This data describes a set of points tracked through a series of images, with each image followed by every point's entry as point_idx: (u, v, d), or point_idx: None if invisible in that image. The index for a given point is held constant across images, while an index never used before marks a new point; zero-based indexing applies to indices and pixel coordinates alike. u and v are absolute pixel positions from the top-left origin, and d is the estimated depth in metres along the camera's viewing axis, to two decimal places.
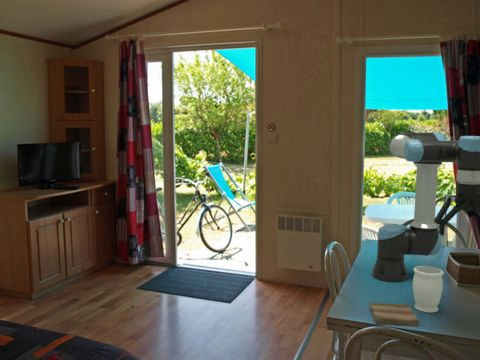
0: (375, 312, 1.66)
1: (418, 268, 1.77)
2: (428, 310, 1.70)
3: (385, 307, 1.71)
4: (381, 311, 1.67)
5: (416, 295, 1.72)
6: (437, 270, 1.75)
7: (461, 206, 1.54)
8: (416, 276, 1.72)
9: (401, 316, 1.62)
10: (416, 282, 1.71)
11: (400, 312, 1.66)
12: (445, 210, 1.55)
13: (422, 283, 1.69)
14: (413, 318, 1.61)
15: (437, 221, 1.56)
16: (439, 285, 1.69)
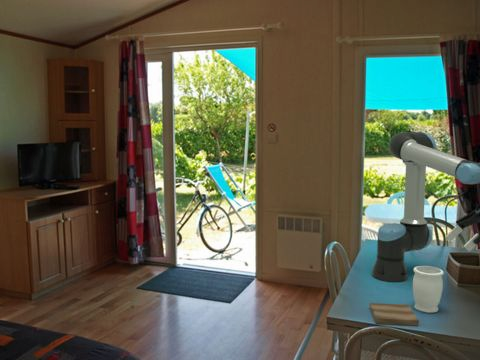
0: (375, 312, 1.66)
1: (418, 268, 1.77)
2: (428, 310, 1.70)
3: (385, 307, 1.71)
4: (381, 311, 1.67)
5: (416, 295, 1.72)
6: (437, 270, 1.75)
7: None
8: (416, 276, 1.72)
9: (401, 316, 1.62)
10: (416, 282, 1.71)
11: (400, 312, 1.66)
12: None
13: (422, 283, 1.69)
14: (413, 318, 1.61)
15: None
16: (439, 285, 1.69)
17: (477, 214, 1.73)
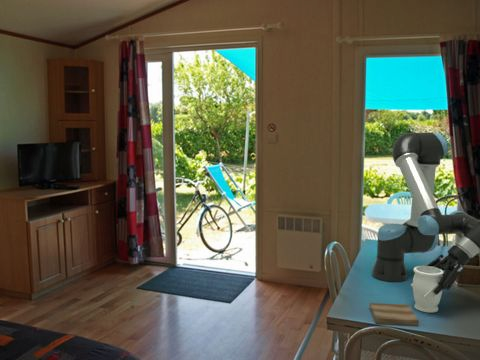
0: (375, 312, 1.66)
1: (418, 268, 1.77)
2: (428, 310, 1.70)
3: (385, 307, 1.71)
4: (381, 311, 1.67)
5: (416, 295, 1.72)
6: (437, 270, 1.75)
7: None
8: (416, 276, 1.72)
9: (401, 316, 1.62)
10: (416, 282, 1.71)
11: (400, 312, 1.66)
12: None
13: (422, 283, 1.69)
14: (413, 318, 1.61)
15: None
16: None
17: (441, 262, 1.74)
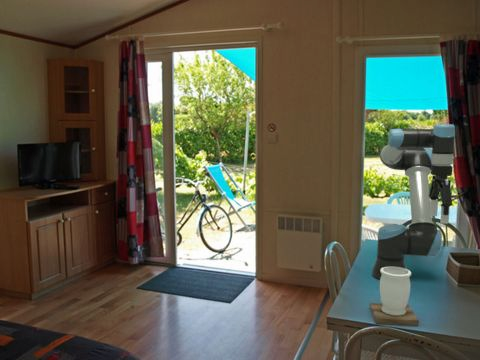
0: (375, 312, 1.66)
1: (386, 269, 1.69)
2: (394, 313, 1.63)
3: None
4: (381, 311, 1.67)
5: (382, 297, 1.64)
6: (405, 271, 1.67)
7: None
8: (382, 277, 1.64)
9: (401, 316, 1.62)
10: (382, 284, 1.64)
11: None
12: None
13: (388, 284, 1.62)
14: (413, 318, 1.61)
15: (451, 203, 1.70)
16: (406, 287, 1.61)
17: (434, 184, 1.81)
